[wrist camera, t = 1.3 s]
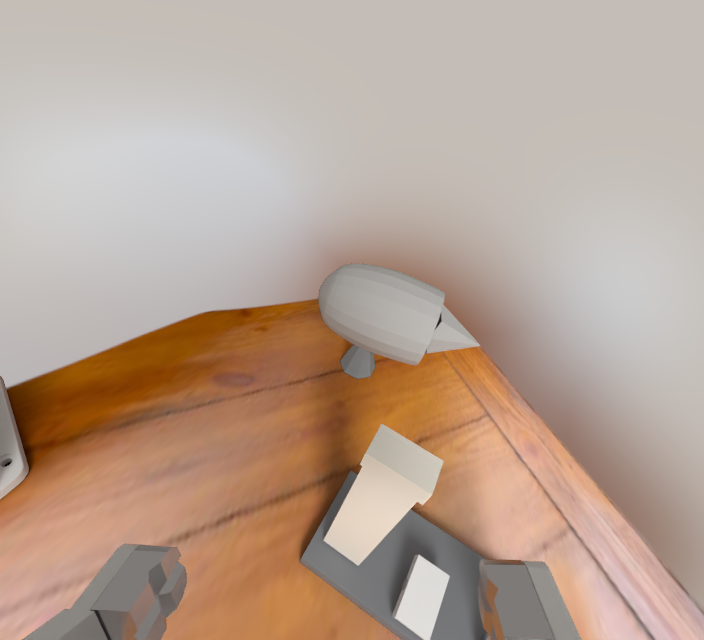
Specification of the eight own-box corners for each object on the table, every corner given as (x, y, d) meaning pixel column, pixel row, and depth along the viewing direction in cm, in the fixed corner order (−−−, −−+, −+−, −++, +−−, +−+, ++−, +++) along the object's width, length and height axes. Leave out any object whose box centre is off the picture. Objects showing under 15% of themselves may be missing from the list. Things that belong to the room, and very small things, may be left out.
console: (517, 727, 28) (527, 728, 27) (299, 562, 33) (301, 558, 32) (528, 594, 35) (536, 592, 34) (348, 475, 40) (350, 470, 39)
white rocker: (425, 641, 30) (430, 643, 28) (390, 615, 30) (394, 616, 29) (445, 576, 32) (450, 576, 31) (414, 554, 33) (417, 553, 32)
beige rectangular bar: (357, 572, 32) (432, 495, 19) (319, 543, 33) (365, 452, 20) (368, 547, 34) (443, 461, 21) (331, 520, 35) (381, 423, 22)
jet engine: (384, 449, 44) (434, 363, 32) (294, 350, 53) (308, 255, 41) (447, 395, 53) (504, 312, 41) (361, 318, 62) (388, 232, 50)
